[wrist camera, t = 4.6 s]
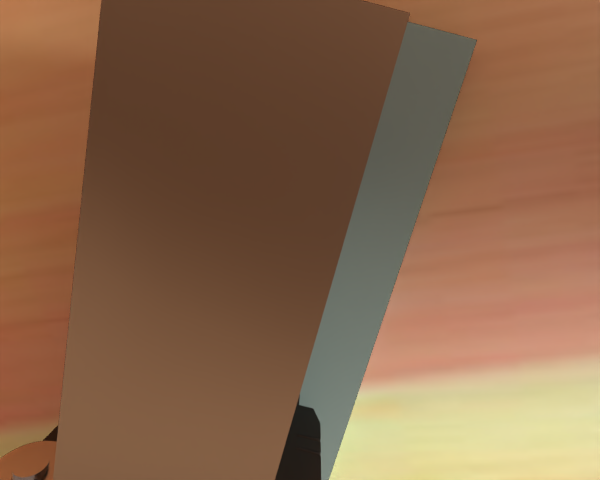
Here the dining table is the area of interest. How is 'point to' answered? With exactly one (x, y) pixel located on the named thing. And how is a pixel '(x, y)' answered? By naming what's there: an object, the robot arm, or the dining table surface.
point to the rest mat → (382, 223)
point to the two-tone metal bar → (213, 227)
